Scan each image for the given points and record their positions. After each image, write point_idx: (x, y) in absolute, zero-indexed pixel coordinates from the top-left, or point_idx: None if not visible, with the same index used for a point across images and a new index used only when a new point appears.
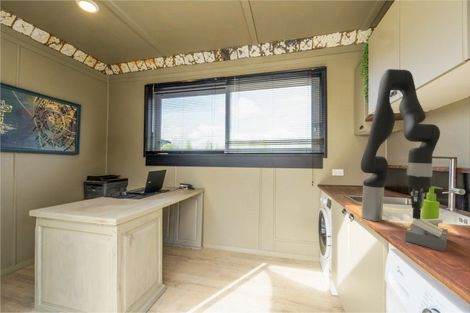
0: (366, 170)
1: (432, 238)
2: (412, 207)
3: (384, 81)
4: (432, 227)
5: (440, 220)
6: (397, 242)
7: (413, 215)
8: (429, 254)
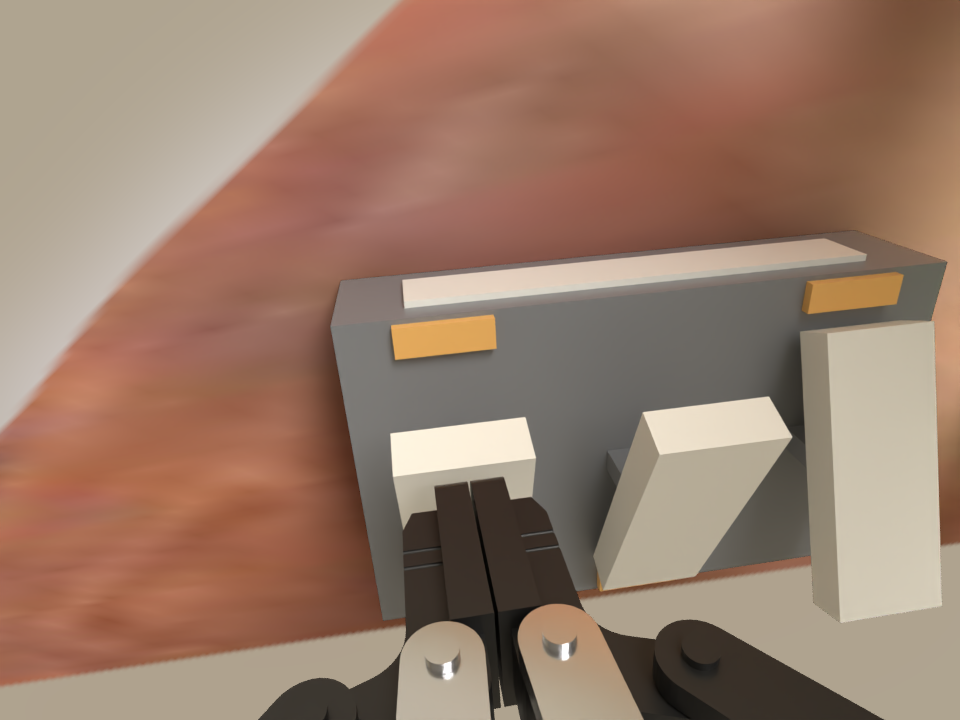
0: None
1: (371, 538)
2: (282, 702)
3: None
4: (611, 541)
5: (835, 609)
6: (187, 242)
7: (435, 519)
8: (167, 498)
